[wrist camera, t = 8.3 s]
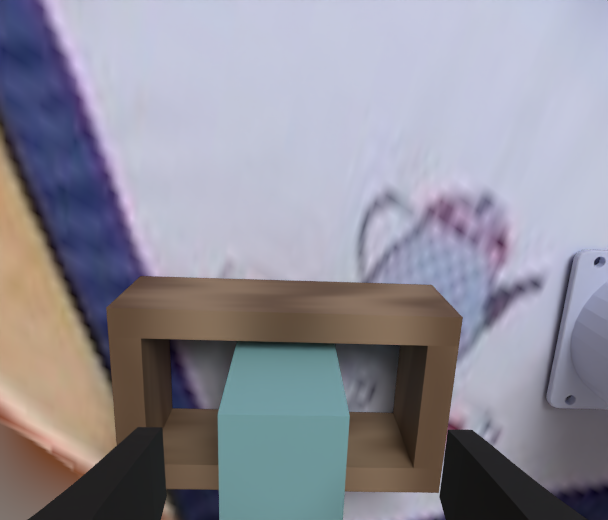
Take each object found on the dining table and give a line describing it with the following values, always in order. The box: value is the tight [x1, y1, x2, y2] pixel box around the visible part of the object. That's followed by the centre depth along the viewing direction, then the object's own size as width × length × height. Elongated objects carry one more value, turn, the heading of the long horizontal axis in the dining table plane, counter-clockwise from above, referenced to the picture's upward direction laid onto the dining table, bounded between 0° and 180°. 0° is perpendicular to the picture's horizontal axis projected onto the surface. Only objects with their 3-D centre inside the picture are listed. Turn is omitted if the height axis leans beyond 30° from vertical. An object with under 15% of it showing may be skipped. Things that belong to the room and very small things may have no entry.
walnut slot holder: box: [106, 276, 463, 493], centre depth 20 cm, size 13×8×4 cm, turn 88°
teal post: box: [218, 341, 350, 520], centre depth 18 cm, size 4×4×8 cm
